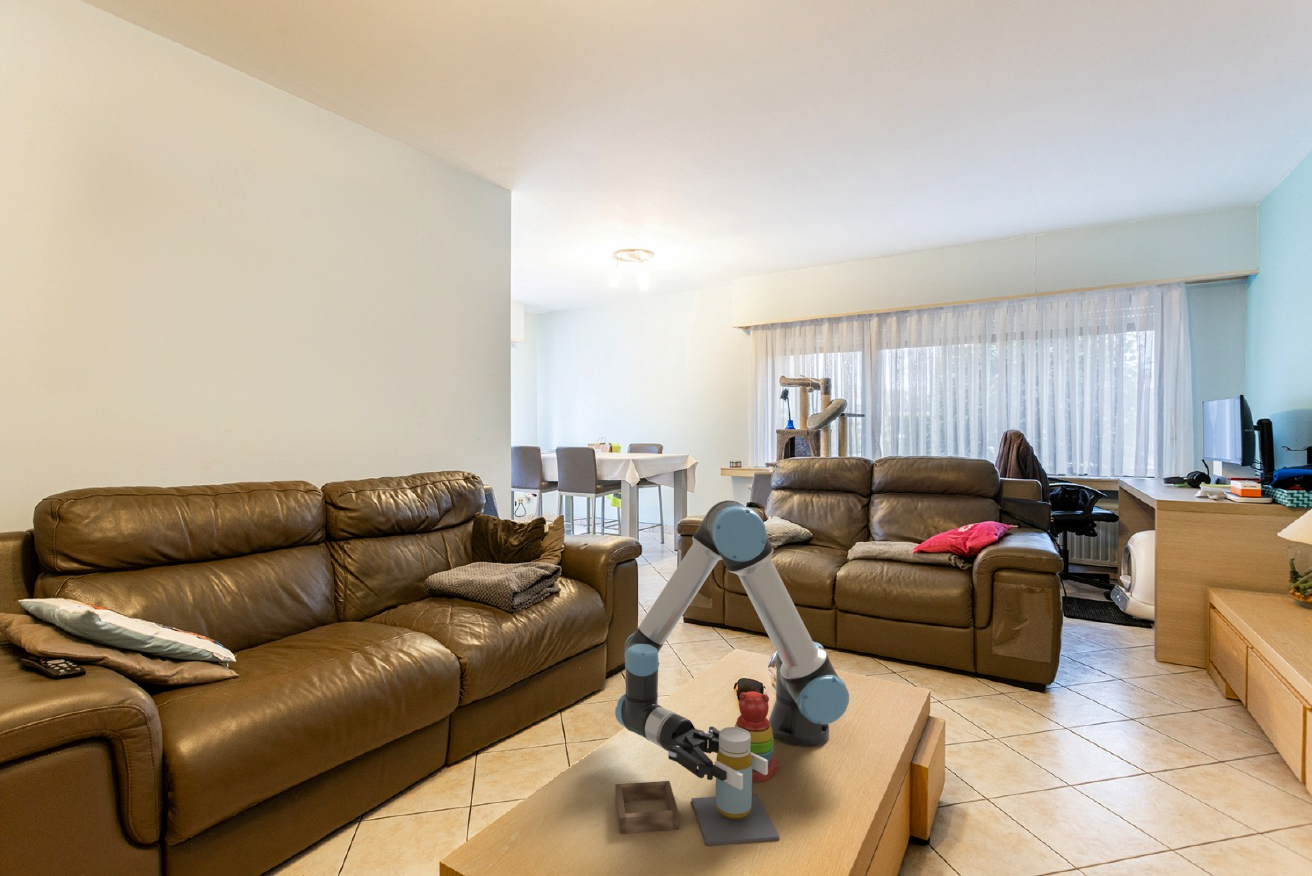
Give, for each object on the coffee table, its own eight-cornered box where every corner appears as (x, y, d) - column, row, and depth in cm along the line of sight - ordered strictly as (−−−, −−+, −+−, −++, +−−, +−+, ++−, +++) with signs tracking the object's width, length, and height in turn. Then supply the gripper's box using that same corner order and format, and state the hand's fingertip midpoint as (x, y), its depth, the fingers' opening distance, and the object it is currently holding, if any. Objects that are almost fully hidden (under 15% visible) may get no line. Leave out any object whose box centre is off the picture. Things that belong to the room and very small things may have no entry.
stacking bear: (778, 762, 145) (779, 686, 145) (775, 786, 136) (776, 704, 135) (731, 755, 148) (733, 681, 148) (725, 778, 138) (726, 698, 138)
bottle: (750, 822, 120) (751, 744, 119) (713, 817, 121) (715, 740, 121) (752, 801, 126) (753, 728, 126) (717, 797, 128) (718, 724, 128)
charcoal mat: (757, 796, 132) (757, 793, 132) (779, 839, 118) (779, 836, 118) (691, 801, 130) (691, 798, 130) (706, 845, 116) (706, 842, 116)
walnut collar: (669, 794, 132) (669, 780, 132) (678, 829, 120) (678, 813, 120) (615, 798, 130) (615, 784, 130) (619, 833, 119) (619, 818, 119)
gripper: (701, 733, 144) (784, 775, 127) (636, 764, 130) (719, 815, 113) (701, 701, 143) (785, 738, 127) (636, 728, 130) (720, 774, 113)
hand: (754, 774), depth 120 cm, fingers closed on bottle, 7 cm apart
